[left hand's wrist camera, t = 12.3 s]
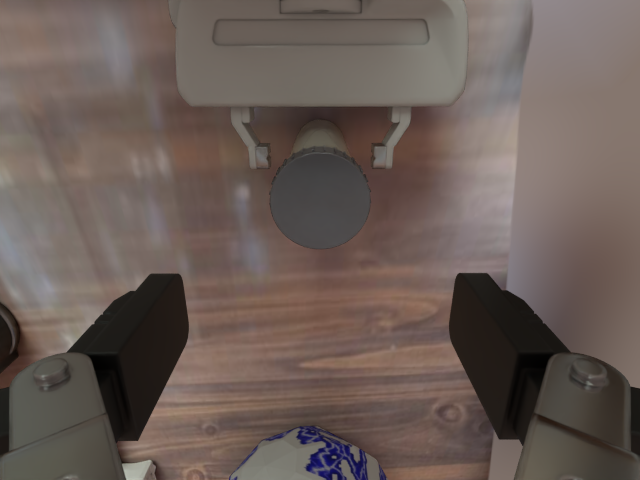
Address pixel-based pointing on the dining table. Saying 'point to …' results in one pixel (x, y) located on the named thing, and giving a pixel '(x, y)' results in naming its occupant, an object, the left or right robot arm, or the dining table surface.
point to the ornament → (308, 458)
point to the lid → (320, 197)
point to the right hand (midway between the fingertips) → (320, 167)
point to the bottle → (320, 136)
